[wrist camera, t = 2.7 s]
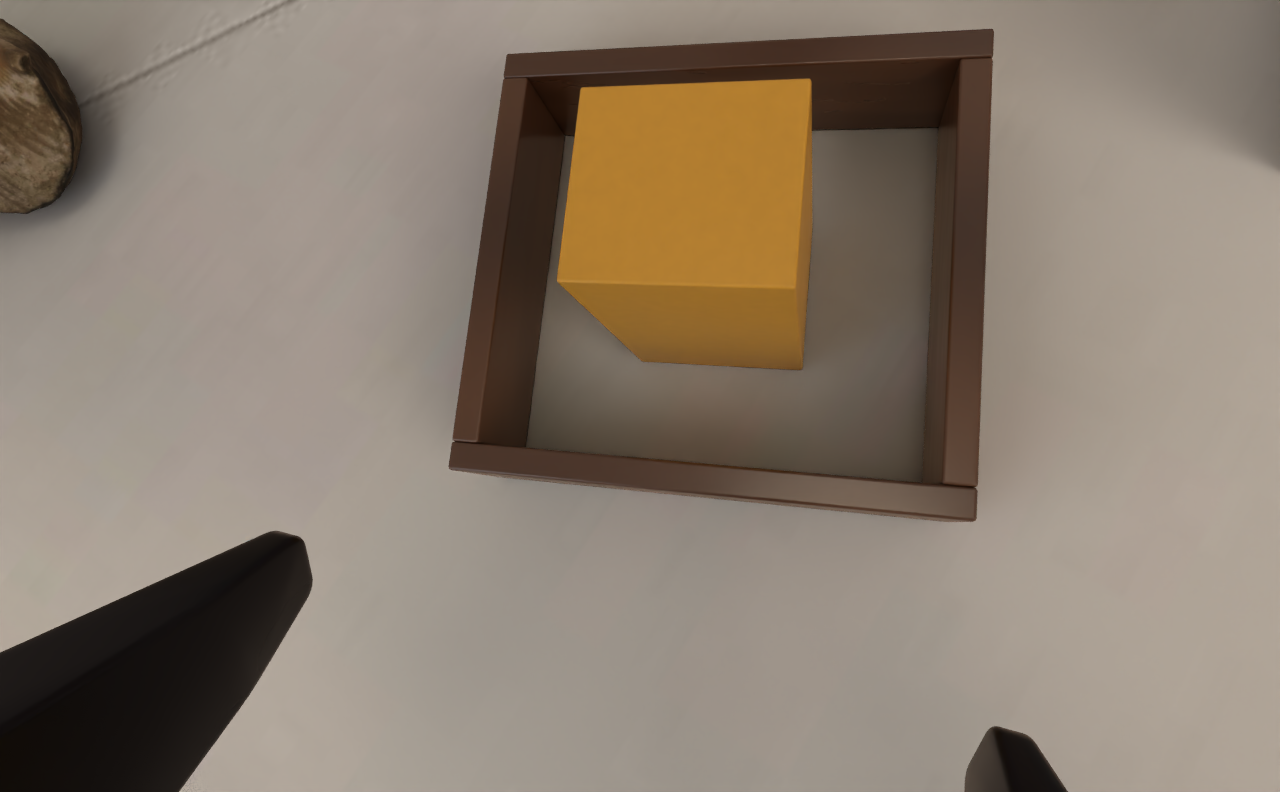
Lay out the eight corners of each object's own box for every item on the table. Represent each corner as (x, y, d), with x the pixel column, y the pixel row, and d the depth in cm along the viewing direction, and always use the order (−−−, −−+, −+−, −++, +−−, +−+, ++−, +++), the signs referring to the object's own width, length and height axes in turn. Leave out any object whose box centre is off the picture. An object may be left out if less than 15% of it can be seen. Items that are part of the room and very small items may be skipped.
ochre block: (802, 370, 22) (795, 288, 14) (640, 361, 23) (555, 281, 15) (812, 228, 23) (811, 76, 15) (655, 226, 24) (579, 85, 16)
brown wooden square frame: (950, 521, 20) (977, 521, 17) (499, 476, 24) (446, 469, 20) (967, 102, 22) (994, 27, 19) (546, 115, 25) (505, 53, 22)
